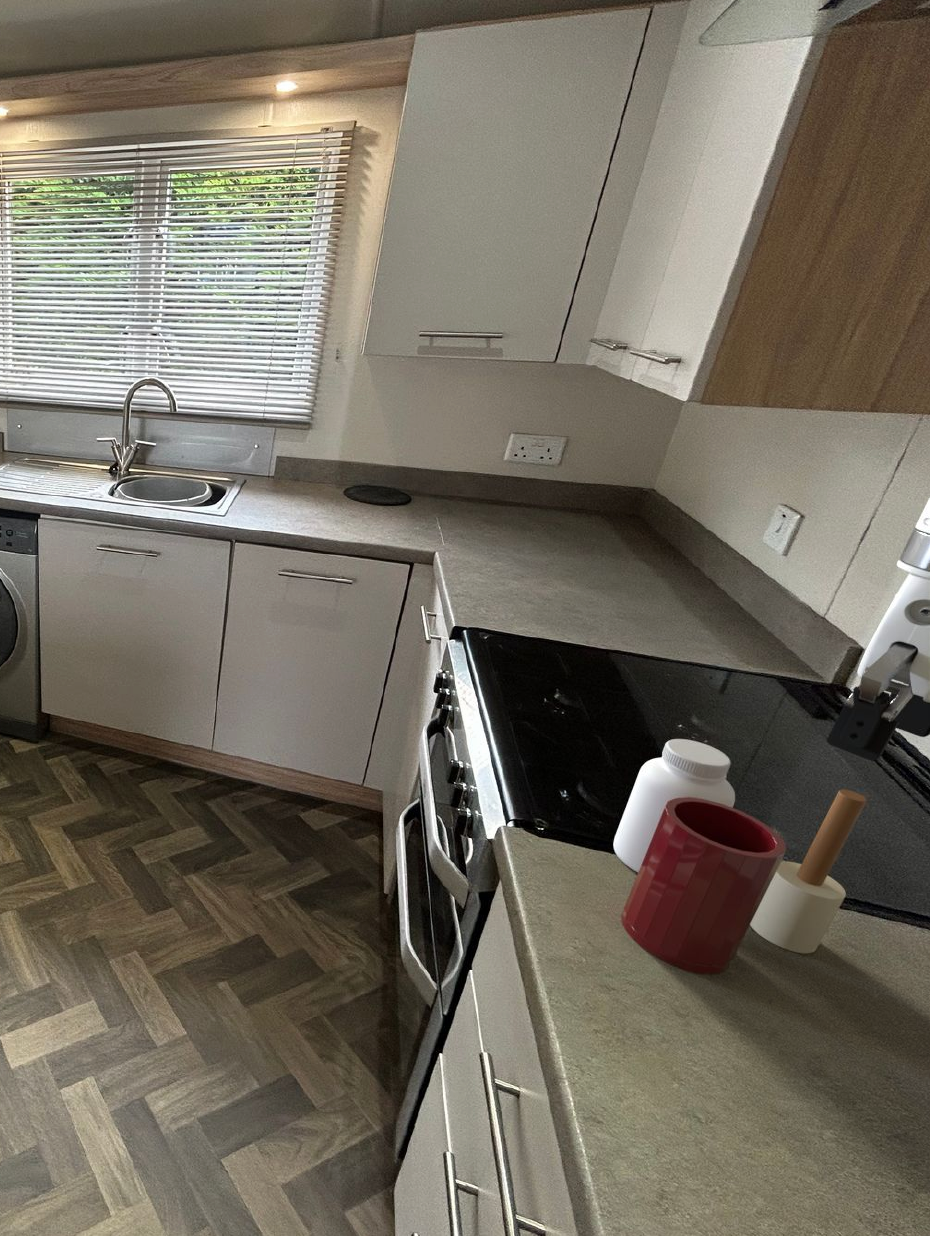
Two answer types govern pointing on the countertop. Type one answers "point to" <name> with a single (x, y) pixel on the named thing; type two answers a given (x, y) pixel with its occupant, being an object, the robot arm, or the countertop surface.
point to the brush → (809, 884)
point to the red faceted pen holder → (701, 884)
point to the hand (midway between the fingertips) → (877, 739)
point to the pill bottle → (670, 792)
